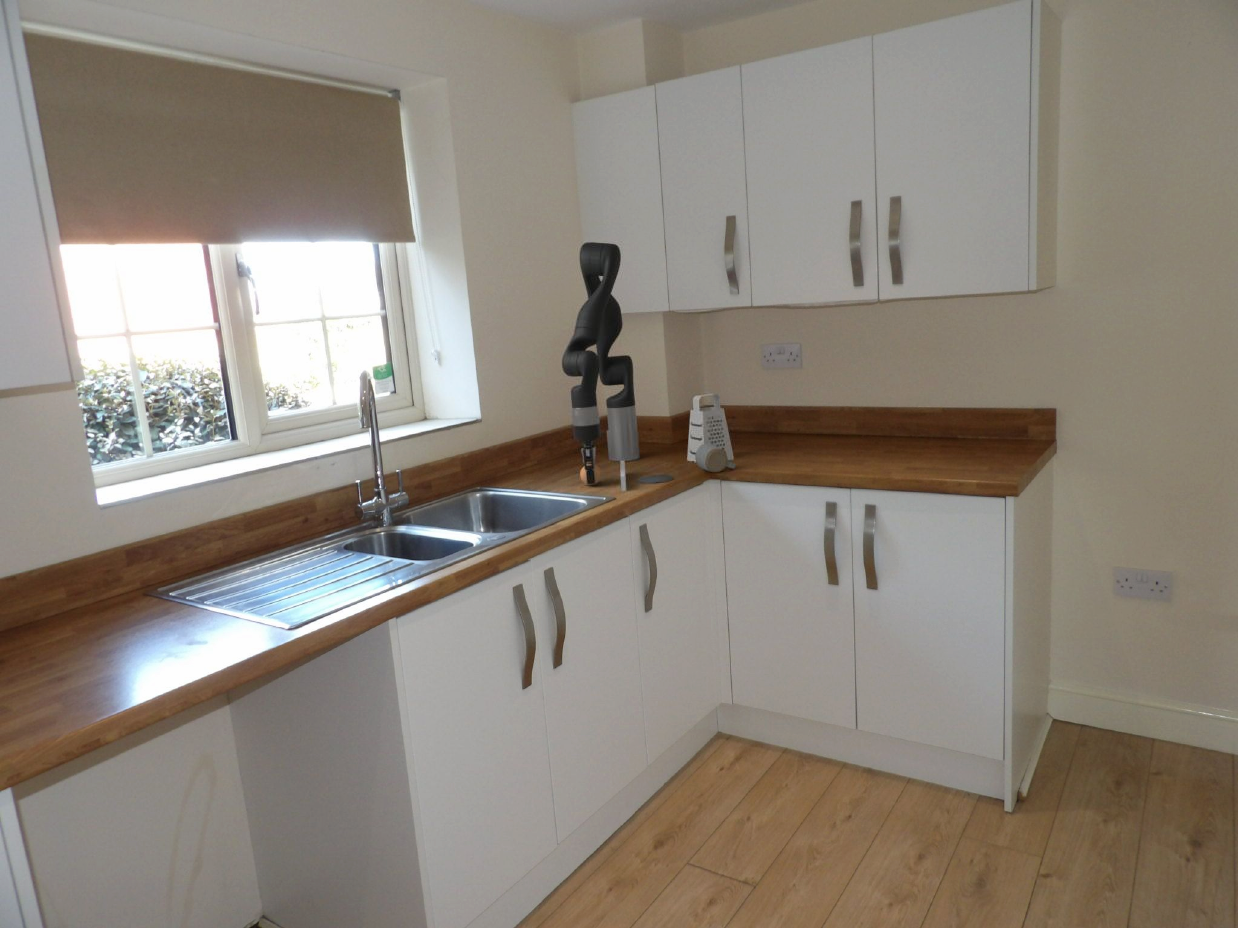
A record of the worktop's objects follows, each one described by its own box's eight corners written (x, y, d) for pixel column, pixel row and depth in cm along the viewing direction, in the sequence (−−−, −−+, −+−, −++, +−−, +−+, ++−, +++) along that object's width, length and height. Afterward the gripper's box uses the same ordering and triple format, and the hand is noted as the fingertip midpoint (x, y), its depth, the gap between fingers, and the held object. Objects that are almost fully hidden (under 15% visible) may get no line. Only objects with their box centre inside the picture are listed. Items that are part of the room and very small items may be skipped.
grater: (734, 459, 274) (730, 394, 270) (704, 464, 270) (699, 398, 266) (716, 455, 283) (711, 392, 280) (687, 460, 279) (682, 396, 276)
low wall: (621, 474, 265) (620, 461, 264) (625, 474, 265) (624, 460, 264) (621, 491, 242) (620, 476, 241) (626, 490, 241) (625, 476, 241)
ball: (576, 486, 254) (574, 465, 252) (592, 482, 258) (590, 461, 257) (591, 488, 249) (589, 466, 248) (606, 483, 253) (604, 462, 252)
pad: (630, 481, 253) (630, 480, 253) (654, 474, 260) (654, 473, 260) (656, 484, 246) (656, 483, 246) (680, 477, 253) (680, 476, 253)
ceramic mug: (706, 475, 254) (705, 448, 252) (695, 470, 262) (694, 444, 260) (740, 470, 257) (739, 444, 255) (729, 466, 264) (727, 440, 263)
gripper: (599, 425, 243) (604, 485, 246) (600, 418, 257) (605, 475, 260) (571, 427, 243) (577, 487, 246) (574, 420, 257) (579, 477, 260)
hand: (591, 481), depth 253 cm, fingers closed on ball, 6 cm apart
